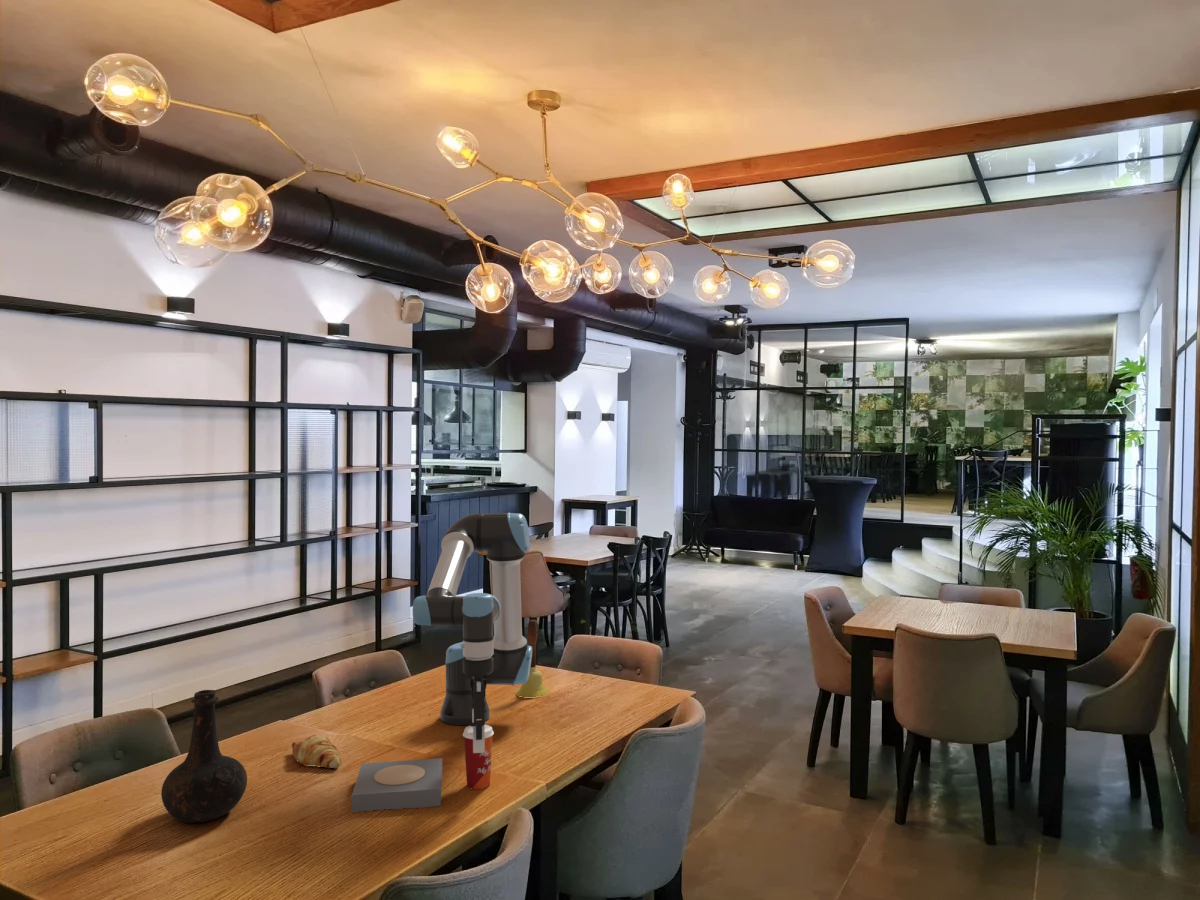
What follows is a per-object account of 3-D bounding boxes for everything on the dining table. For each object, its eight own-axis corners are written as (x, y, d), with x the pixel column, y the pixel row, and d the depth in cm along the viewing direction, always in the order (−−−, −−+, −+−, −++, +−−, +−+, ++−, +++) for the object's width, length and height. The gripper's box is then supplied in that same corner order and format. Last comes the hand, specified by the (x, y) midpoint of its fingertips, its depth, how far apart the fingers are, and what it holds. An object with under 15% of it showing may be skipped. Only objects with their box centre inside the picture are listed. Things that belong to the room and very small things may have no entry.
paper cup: (488, 792, 202) (487, 734, 202) (458, 790, 204) (457, 732, 204) (498, 780, 210) (498, 724, 210) (469, 777, 211) (469, 722, 212)
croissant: (348, 780, 219) (360, 749, 222) (318, 773, 212) (331, 741, 215) (302, 761, 232) (314, 732, 235) (272, 753, 225) (285, 723, 228)
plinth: (361, 779, 211) (361, 761, 211) (442, 773, 214) (442, 756, 214) (351, 812, 191) (351, 793, 191) (440, 806, 195) (440, 787, 195)
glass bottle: (191, 839, 178) (190, 708, 179) (144, 820, 188) (144, 695, 188) (263, 809, 194) (263, 688, 194) (217, 792, 203) (216, 677, 203)
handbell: (514, 689, 292) (514, 617, 292) (549, 687, 293) (549, 616, 293) (514, 699, 279) (514, 624, 279) (551, 697, 281) (551, 623, 281)
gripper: (462, 646, 219) (462, 728, 218) (462, 669, 194) (463, 761, 194) (491, 645, 220) (491, 726, 220) (495, 668, 195) (495, 759, 195)
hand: (478, 743), depth 207 cm, fingers open, 13 cm apart
